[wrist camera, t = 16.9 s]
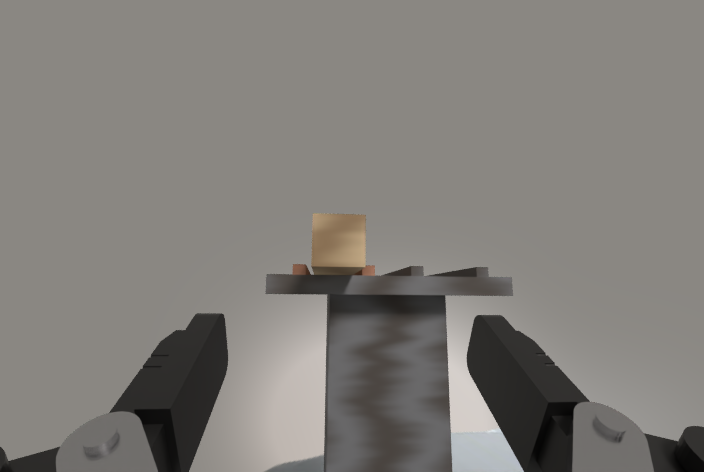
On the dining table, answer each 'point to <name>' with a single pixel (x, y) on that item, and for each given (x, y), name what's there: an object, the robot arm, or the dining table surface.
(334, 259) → the oak bar
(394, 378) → the grey pedestal stand
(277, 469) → the dining table surface
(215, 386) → the robot arm
